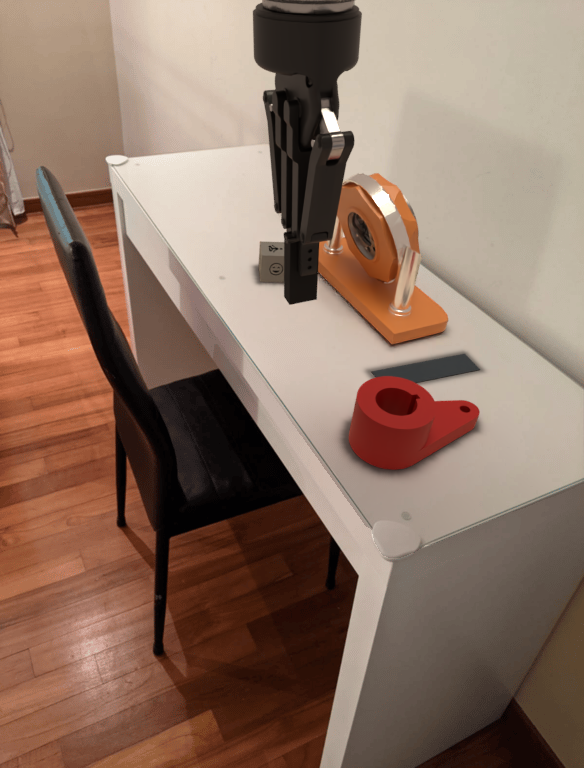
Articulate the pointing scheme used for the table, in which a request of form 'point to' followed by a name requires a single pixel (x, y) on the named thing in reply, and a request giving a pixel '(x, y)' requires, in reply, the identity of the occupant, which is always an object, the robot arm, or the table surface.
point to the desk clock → (379, 260)
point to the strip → (430, 369)
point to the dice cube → (271, 262)
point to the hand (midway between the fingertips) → (300, 297)
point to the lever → (404, 422)
